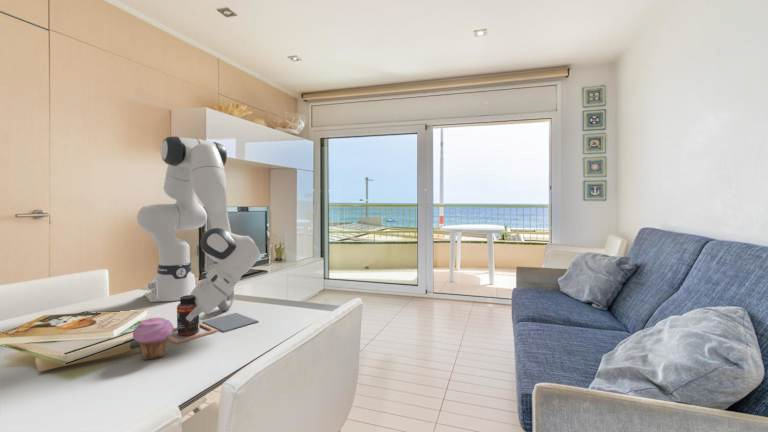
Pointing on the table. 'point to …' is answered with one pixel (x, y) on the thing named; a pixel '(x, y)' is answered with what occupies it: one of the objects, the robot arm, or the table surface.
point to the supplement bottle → (182, 310)
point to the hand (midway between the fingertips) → (185, 315)
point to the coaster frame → (194, 335)
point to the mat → (230, 322)
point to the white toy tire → (226, 302)
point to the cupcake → (153, 337)
